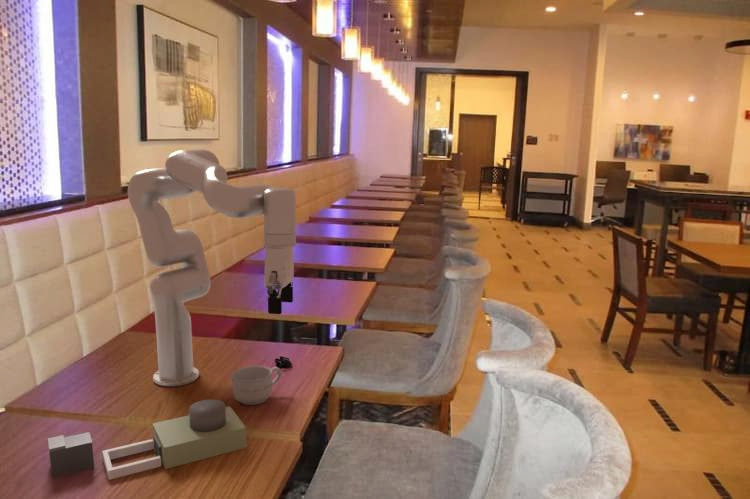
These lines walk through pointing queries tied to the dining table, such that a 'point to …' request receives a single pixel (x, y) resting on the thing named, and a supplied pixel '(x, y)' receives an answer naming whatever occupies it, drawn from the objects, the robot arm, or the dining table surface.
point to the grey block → (70, 454)
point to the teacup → (254, 383)
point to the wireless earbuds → (282, 362)
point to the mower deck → (184, 439)
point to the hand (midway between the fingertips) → (280, 307)
